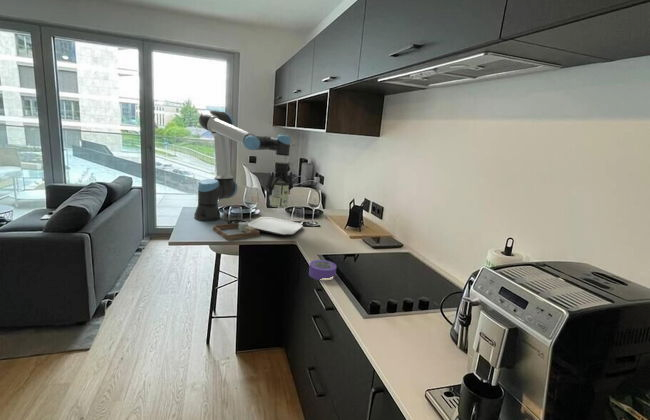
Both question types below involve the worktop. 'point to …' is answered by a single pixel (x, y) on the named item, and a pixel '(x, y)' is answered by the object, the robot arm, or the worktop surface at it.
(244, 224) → the box
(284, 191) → the coffee can
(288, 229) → the plate
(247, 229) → the box
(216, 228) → the brown wooden frame
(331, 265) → the tape roll
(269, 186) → the robot arm
